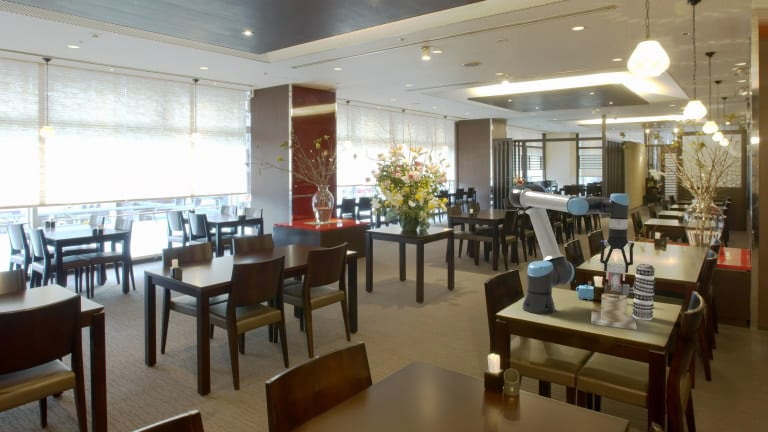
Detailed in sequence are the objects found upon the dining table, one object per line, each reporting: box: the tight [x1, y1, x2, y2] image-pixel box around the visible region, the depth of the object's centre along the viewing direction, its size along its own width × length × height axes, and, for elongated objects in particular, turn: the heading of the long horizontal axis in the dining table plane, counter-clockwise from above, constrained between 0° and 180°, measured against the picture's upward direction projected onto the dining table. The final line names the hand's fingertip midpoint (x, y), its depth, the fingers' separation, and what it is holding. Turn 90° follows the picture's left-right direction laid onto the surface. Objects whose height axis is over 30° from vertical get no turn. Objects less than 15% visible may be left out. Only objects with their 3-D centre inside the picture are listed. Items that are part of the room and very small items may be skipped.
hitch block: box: [590, 282, 637, 330], centre depth 225 cm, size 18×16×16 cm
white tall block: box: [608, 262, 625, 293], centre depth 224 cm, size 6×6×12 cm
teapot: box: [575, 284, 595, 301], centre depth 265 cm, size 12×6×8 cm, turn 67°
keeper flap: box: [607, 272, 622, 288], centre depth 231 cm, size 5×8×1 cm
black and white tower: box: [631, 263, 657, 321], centre depth 232 cm, size 9×9×25 cm
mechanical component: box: [618, 283, 635, 299], centre depth 256 cm, size 3×10×10 cm, turn 78°
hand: (615, 279), depth 224 cm, fingers closed on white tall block, 6 cm apart
